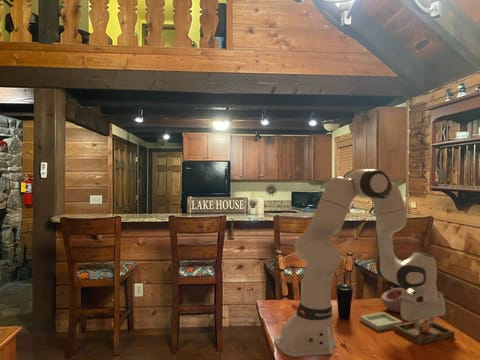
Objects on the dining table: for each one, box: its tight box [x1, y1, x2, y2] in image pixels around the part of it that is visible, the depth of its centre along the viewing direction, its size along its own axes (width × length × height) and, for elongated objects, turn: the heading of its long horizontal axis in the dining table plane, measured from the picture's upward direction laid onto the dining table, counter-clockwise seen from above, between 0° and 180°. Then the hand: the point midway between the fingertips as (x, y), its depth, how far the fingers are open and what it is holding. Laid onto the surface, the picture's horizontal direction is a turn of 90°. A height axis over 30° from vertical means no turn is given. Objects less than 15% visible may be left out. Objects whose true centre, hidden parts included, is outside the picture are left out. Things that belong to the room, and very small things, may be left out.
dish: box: [393, 318, 456, 346], centre depth 126 cm, size 18×12×2 cm, turn 110°
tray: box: [359, 311, 403, 332], centre depth 135 cm, size 13×10×2 cm
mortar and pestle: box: [380, 286, 407, 313], centre depth 148 cm, size 12×12×12 cm
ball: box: [419, 321, 430, 333], centre depth 126 cm, size 4×4×4 cm
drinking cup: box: [335, 271, 354, 321], centre depth 141 cm, size 8×8×20 cm
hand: (423, 328), depth 126 cm, fingers closed on ball, 4 cm apart
